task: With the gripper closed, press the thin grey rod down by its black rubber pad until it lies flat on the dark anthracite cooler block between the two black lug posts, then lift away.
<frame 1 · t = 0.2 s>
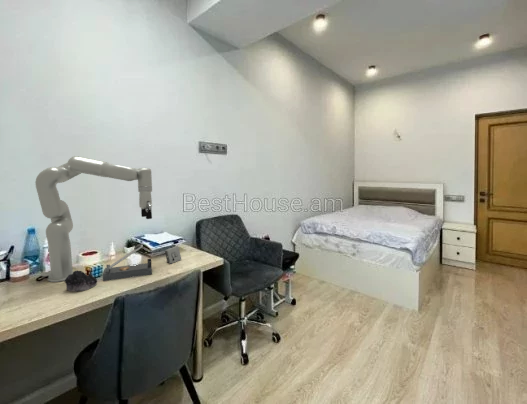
hand: (146, 217, 161), 30 cm above the table, tool pointing down, fingers open, 9 cm apart
electrical switch: (173, 261, 174), on the table
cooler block: (128, 274, 152), on the table
thin grey rod: (124, 256, 150), point 11 cm above the table, hinge at 32.0°
crystal cluster: (81, 287, 136), on the table
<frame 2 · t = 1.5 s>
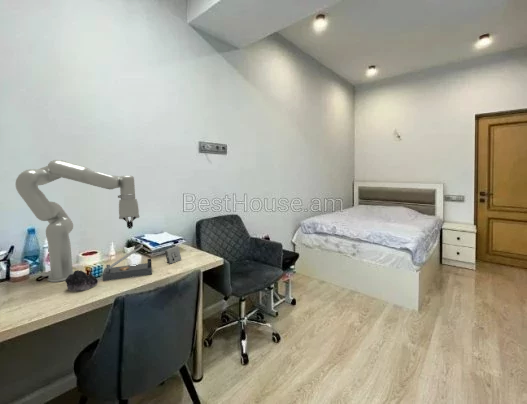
hand: (130, 228, 158), 25 cm above the table, tool pointing down, fingers closed
nothing on the table moved.
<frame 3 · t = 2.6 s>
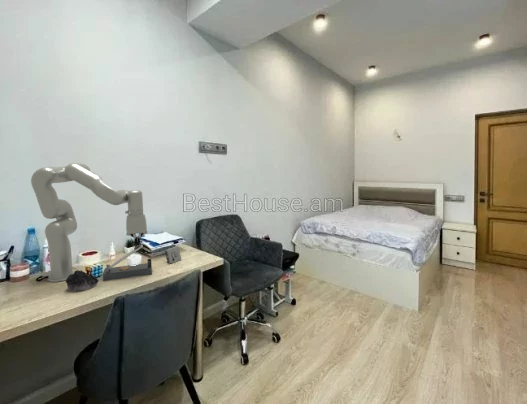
hand: (137, 244, 152), 17 cm above the table, tool pointing down, fingers closed
thin grey rod: (124, 256, 150), point 11 cm above the table, hinge at 32.0°, touching gripper
everything else where it was.
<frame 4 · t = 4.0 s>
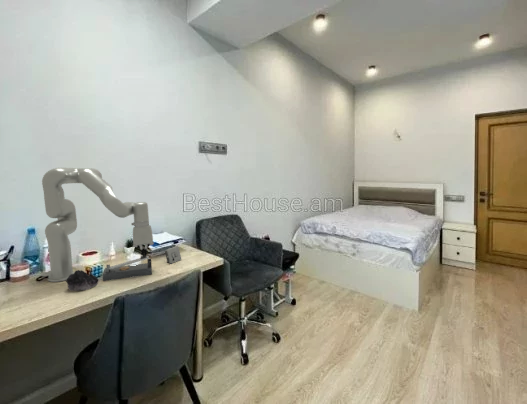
hand: (144, 255, 154), 10 cm above the table, tool pointing down, fingers closed
thin grey rod: (127, 262, 151), point 7 cm above the table, hinge at 10.8°, touching gripper
everything else where it was.
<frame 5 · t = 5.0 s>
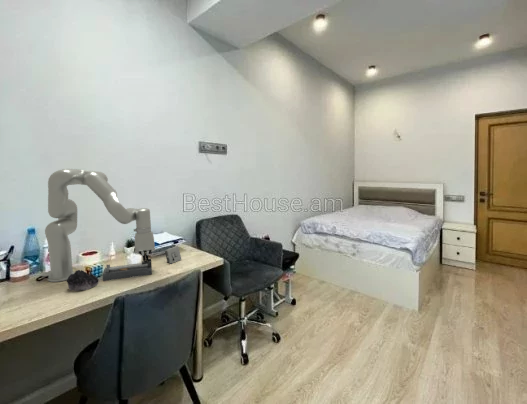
hand: (145, 261, 154), 6 cm above the table, tool pointing down, fingers closed
thin grey rod: (128, 265, 151), point 5 cm above the table, hinge at 0.4°, touching gripper
everything else where it was.
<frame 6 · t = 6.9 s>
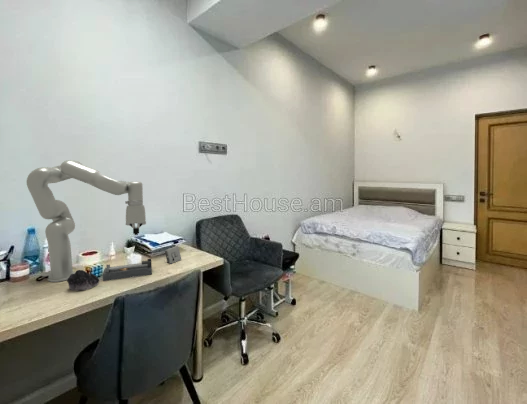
hand: (136, 234, 156), 21 cm above the table, tool pointing down, fingers closed
thin grey rod: (128, 265, 151), point 5 cm above the table, hinge at 0.3°
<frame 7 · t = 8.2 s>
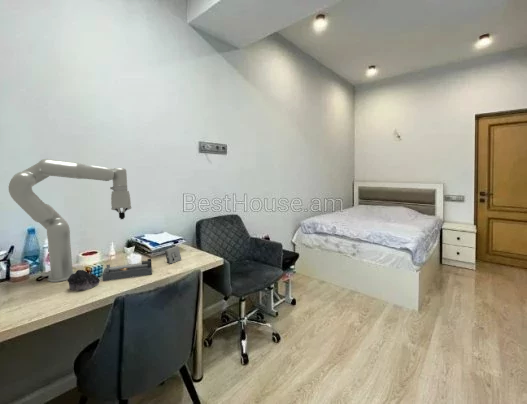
hand: (122, 219, 163), 29 cm above the table, tool pointing down, fingers closed
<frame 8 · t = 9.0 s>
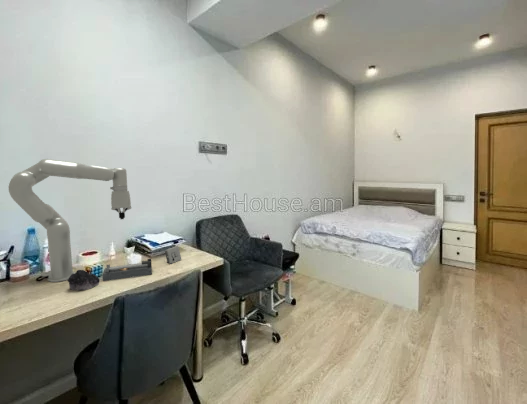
hand: (122, 219, 163), 29 cm above the table, tool pointing down, fingers closed
at the end: thin grey rod at +0° (first picture: +32°) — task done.
